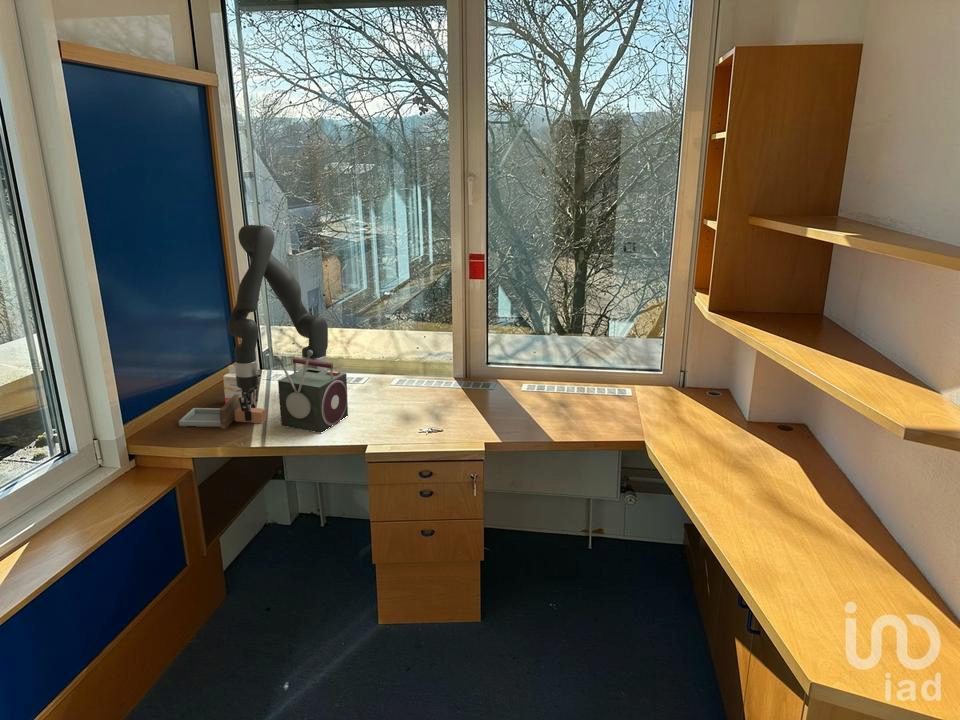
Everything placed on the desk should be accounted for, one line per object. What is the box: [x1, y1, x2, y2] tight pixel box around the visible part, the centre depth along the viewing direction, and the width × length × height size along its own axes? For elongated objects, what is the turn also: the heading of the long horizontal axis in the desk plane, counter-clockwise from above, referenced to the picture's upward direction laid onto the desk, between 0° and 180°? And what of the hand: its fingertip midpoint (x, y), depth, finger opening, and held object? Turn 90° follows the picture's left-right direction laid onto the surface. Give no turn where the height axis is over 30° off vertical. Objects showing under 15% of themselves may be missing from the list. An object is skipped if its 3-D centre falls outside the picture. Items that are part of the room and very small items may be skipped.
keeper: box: [178, 407, 222, 428], centre depth 239 cm, size 15×13×2 cm
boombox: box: [275, 350, 349, 433], centre depth 236 cm, size 18×21×30 cm
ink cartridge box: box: [222, 364, 242, 405], centre depth 253 cm, size 9×5×15 cm, turn 84°
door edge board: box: [219, 394, 241, 430], centre depth 238 cm, size 2×16×7 cm, turn 1°
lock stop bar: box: [234, 406, 267, 424], centre depth 239 cm, size 10×4×4 cm, turn 83°
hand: (250, 417), depth 239 cm, fingers closed on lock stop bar, 4 cm apart
